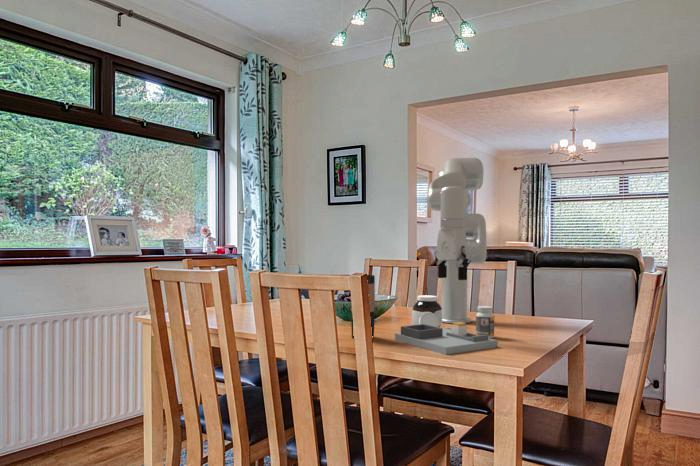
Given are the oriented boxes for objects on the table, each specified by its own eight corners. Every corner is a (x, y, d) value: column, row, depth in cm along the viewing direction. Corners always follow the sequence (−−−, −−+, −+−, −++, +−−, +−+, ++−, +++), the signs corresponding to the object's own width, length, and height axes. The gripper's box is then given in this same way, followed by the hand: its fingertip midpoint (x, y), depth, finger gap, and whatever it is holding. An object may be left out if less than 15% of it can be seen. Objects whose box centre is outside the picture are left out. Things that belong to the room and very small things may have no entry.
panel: (395, 339, 166) (395, 325, 166) (443, 333, 176) (443, 320, 176) (445, 354, 145) (445, 338, 145) (497, 347, 156) (497, 331, 156)
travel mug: (379, 337, 169) (379, 275, 169) (362, 340, 164) (362, 276, 164) (362, 334, 175) (363, 274, 175) (346, 337, 169) (346, 275, 170)
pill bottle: (494, 339, 167) (494, 308, 167) (476, 338, 169) (476, 307, 169) (493, 336, 173) (493, 305, 173) (475, 335, 174) (475, 305, 174)
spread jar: (430, 326, 191) (430, 294, 191) (452, 331, 181) (452, 297, 182) (404, 329, 185) (404, 296, 185) (425, 334, 175) (426, 299, 175)
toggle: (451, 334, 163) (451, 322, 163) (460, 333, 165) (460, 322, 165) (458, 336, 160) (458, 324, 160) (466, 335, 162) (466, 323, 162)
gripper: (426, 225, 173) (425, 277, 173) (461, 224, 158) (461, 281, 158) (443, 226, 177) (443, 276, 177) (480, 224, 162) (480, 280, 162)
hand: (452, 278), depth 168 cm, fingers open, 9 cm apart
